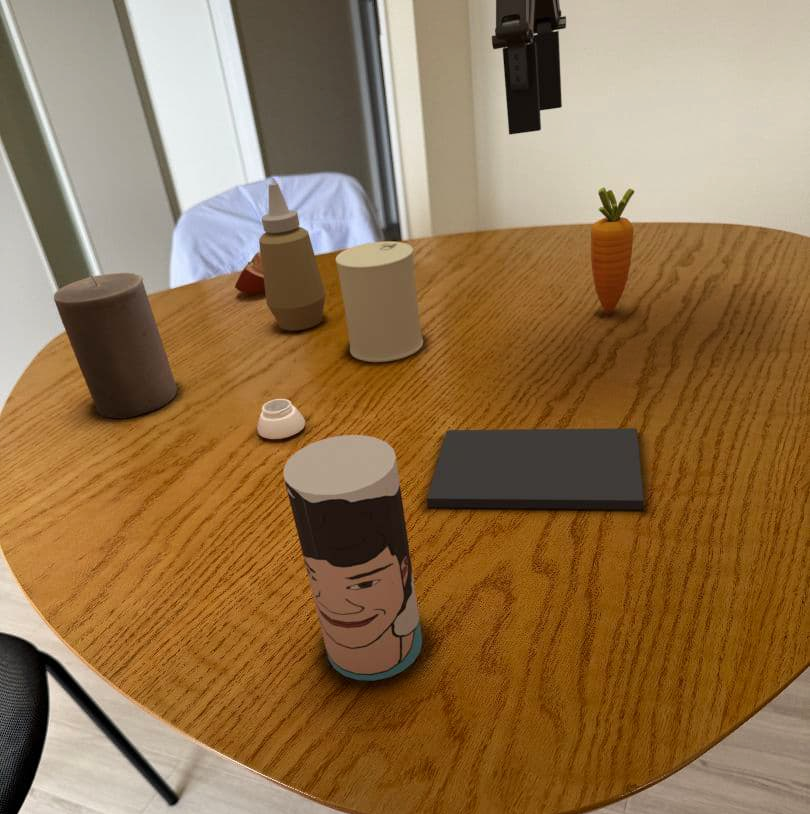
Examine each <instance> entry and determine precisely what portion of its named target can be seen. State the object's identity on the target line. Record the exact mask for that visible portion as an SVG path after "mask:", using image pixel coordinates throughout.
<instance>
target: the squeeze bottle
mask: <svg viewBox="0 0 810 814" xmlns="http://www.w3.org/2000/svg"><path fill="white" fill-rule="evenodd" d="M261 221H262V222H261V223H262V228H263V232H264V233H263V234H262V235H261V236H260V237H259V239H258V243H259V253H260V254H261V260H262V268H263V276H264V284H265V290H264V292H265V300H266V305H267V307H268V309H269V310H270V312H271V314H272V316H273V317H274V319H275V320H276V322H277V324H278V326H279V327H280V328H281V329H282V330H285V331H302V330H307V329H310V328H313V327H316V326H317V325H319V324H320V323H321V322H322V321H323V315H324V309H325V308H324V307H325V301H326V290H325V287H324V283H323V280H322V276H321V272H320V268H319V265H318V262H317V259H316V255H315V251H314V248H313V247H314V246H313V244H312V241H311V237H310V233H309V230H307V229H306V228H304V227H301V226H300V218H299V213H298V211H296V210H294V209H289V207H288V205H287V203H286V200H285V198H284V195H283V193H282V190H281V187H280V186H279V183H278V182H272V183H269V184H268V213H265V214H263V215H262V216H261Z"/></svg>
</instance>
